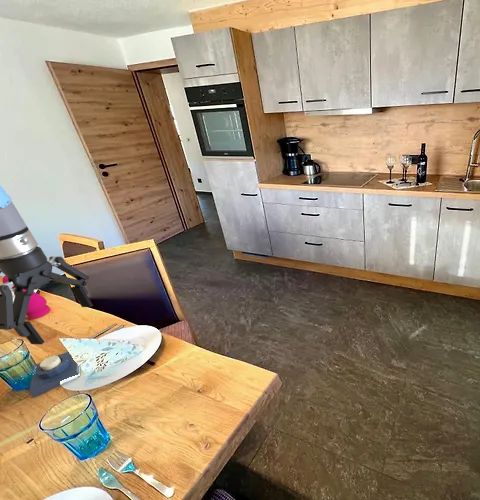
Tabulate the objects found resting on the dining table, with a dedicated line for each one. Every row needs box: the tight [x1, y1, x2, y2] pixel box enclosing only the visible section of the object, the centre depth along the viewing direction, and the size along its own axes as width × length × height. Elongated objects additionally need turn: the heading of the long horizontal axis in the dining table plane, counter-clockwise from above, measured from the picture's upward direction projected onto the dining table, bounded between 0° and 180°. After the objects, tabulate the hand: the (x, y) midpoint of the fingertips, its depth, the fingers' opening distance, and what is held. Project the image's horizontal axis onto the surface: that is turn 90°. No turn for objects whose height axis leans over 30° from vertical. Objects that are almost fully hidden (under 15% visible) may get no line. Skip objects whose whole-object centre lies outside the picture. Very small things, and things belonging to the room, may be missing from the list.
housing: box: [28, 351, 79, 398], centre depth 85 cm, size 12×10×4 cm
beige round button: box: [39, 355, 61, 371], centre depth 83 cm, size 4×4×2 cm
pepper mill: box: [1, 274, 51, 320], centre depth 106 cm, size 7×7×20 cm
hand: (64, 323), depth 75 cm, fingers open, 13 cm apart
